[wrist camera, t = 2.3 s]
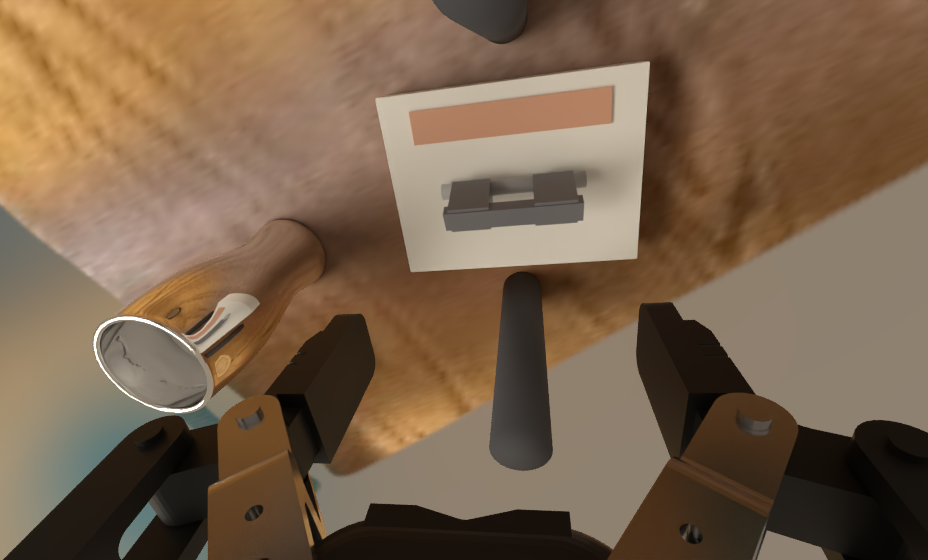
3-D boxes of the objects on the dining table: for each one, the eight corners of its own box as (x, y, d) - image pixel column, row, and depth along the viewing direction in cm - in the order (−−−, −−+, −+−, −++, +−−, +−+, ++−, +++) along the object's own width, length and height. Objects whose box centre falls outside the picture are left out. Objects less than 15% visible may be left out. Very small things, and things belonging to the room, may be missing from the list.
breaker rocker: (441, 177, 27) (433, 212, 24) (585, 163, 25) (593, 199, 23) (445, 198, 28) (439, 234, 25) (584, 185, 27) (592, 222, 24)
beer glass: (332, 223, 33) (208, 330, 20) (330, 296, 37) (222, 428, 24) (249, 205, 34) (71, 298, 20) (254, 279, 37) (104, 401, 24)
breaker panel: (388, 94, 28) (374, 98, 26) (637, 61, 26) (650, 61, 23) (419, 255, 34) (410, 273, 31) (627, 241, 31) (637, 260, 28)
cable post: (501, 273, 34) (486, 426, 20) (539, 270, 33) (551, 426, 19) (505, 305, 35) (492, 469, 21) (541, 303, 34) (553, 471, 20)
